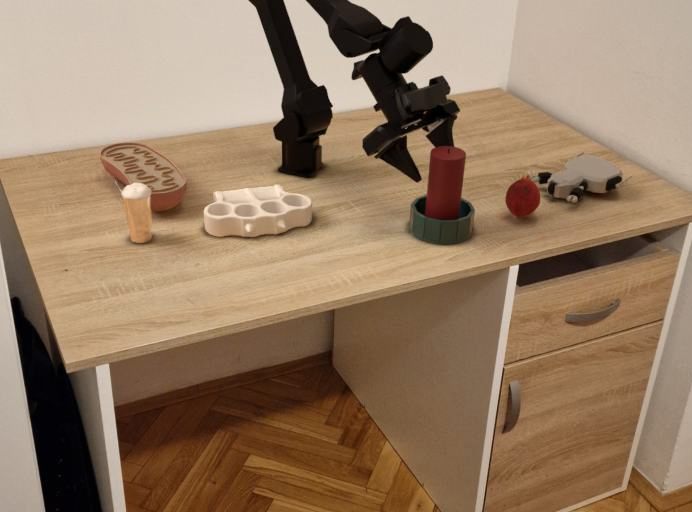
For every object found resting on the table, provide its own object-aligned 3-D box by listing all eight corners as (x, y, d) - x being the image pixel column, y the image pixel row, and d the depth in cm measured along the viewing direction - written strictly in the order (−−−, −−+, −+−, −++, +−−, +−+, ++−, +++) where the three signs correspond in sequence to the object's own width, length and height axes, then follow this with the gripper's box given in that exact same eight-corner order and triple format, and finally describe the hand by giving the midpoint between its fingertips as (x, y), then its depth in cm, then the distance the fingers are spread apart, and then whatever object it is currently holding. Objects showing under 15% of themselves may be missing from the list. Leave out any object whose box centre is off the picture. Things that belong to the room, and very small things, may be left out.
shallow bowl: (401, 236, 152) (403, 213, 150) (421, 211, 160) (423, 189, 158) (461, 249, 149) (464, 226, 147) (478, 223, 157) (481, 200, 155)
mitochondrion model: (95, 174, 169) (91, 148, 166) (146, 163, 173) (144, 137, 170) (146, 225, 153) (143, 197, 150) (201, 211, 158) (199, 184, 155)
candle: (419, 230, 153) (426, 151, 145) (430, 216, 158) (437, 139, 150) (452, 237, 152) (460, 158, 144) (462, 222, 156) (470, 145, 148)
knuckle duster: (296, 195, 164) (321, 232, 153) (194, 207, 159) (212, 247, 148) (296, 177, 162) (321, 214, 151) (193, 188, 157) (211, 228, 146)
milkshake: (123, 231, 151) (116, 174, 145) (156, 231, 151) (151, 174, 146) (120, 245, 147) (113, 187, 141) (154, 245, 148) (148, 187, 142)
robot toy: (571, 218, 162) (632, 193, 168) (575, 194, 159) (636, 170, 165) (523, 191, 170) (583, 169, 176) (525, 168, 167) (586, 146, 174)
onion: (536, 227, 156) (543, 183, 152) (501, 223, 157) (507, 179, 153) (537, 212, 161) (544, 169, 157) (503, 208, 162) (509, 165, 157)
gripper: (379, 75, 138) (431, 166, 138) (456, 49, 150) (504, 134, 150) (339, 112, 147) (388, 198, 147) (415, 85, 158) (460, 165, 158)
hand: (437, 172), depth 150 cm, fingers open, 9 cm apart
